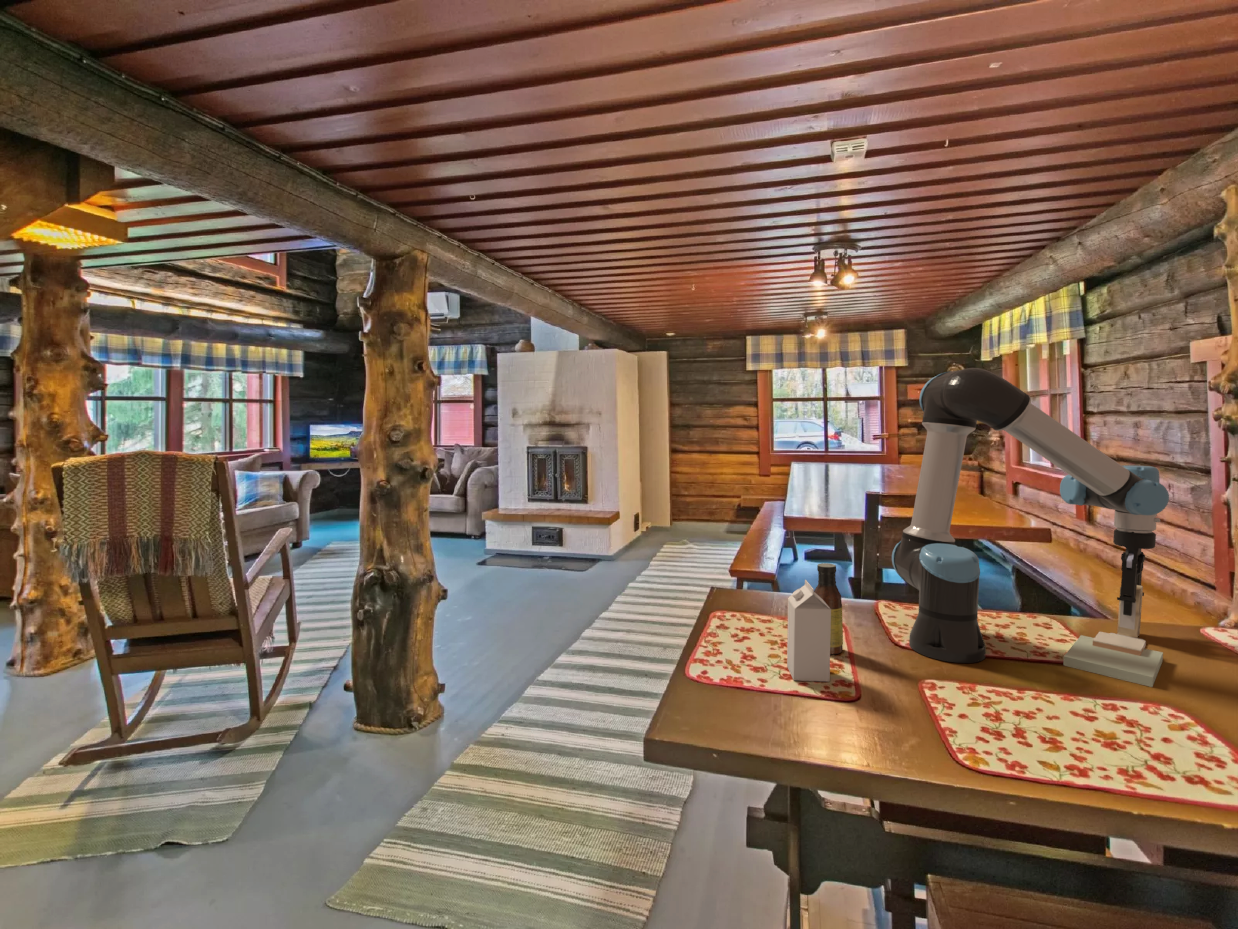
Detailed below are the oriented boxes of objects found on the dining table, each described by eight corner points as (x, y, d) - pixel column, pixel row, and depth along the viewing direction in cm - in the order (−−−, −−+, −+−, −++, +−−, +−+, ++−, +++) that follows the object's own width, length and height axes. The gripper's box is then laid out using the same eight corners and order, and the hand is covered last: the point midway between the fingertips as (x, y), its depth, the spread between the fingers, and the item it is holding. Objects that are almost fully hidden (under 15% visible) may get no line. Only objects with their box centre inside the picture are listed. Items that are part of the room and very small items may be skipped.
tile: (1099, 636, 134) (1099, 631, 134) (1145, 646, 128) (1145, 640, 128) (1092, 645, 128) (1092, 640, 128) (1140, 656, 122) (1140, 650, 122)
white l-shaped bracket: (1114, 629, 144) (1117, 581, 143) (1146, 635, 139) (1149, 586, 138) (1104, 644, 133) (1107, 593, 133) (1138, 652, 129) (1142, 599, 128)
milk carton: (820, 667, 122) (822, 580, 121) (829, 682, 115) (831, 589, 114) (786, 666, 123) (788, 579, 122) (793, 681, 116) (794, 588, 115)
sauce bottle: (845, 648, 133) (847, 563, 131) (839, 658, 127) (841, 569, 126) (816, 643, 136) (817, 560, 135) (809, 651, 131) (810, 566, 129)
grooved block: (1080, 643, 135) (1081, 635, 135) (1162, 661, 124) (1163, 652, 124) (1063, 665, 123) (1063, 656, 123) (1152, 687, 112) (1152, 677, 112)
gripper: (1151, 537, 128) (1145, 638, 130) (1160, 527, 141) (1154, 619, 143) (1107, 533, 134) (1102, 630, 135) (1120, 523, 147) (1114, 612, 148)
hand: (1128, 624), depth 139 cm, fingers closed on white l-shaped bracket, 6 cm apart
